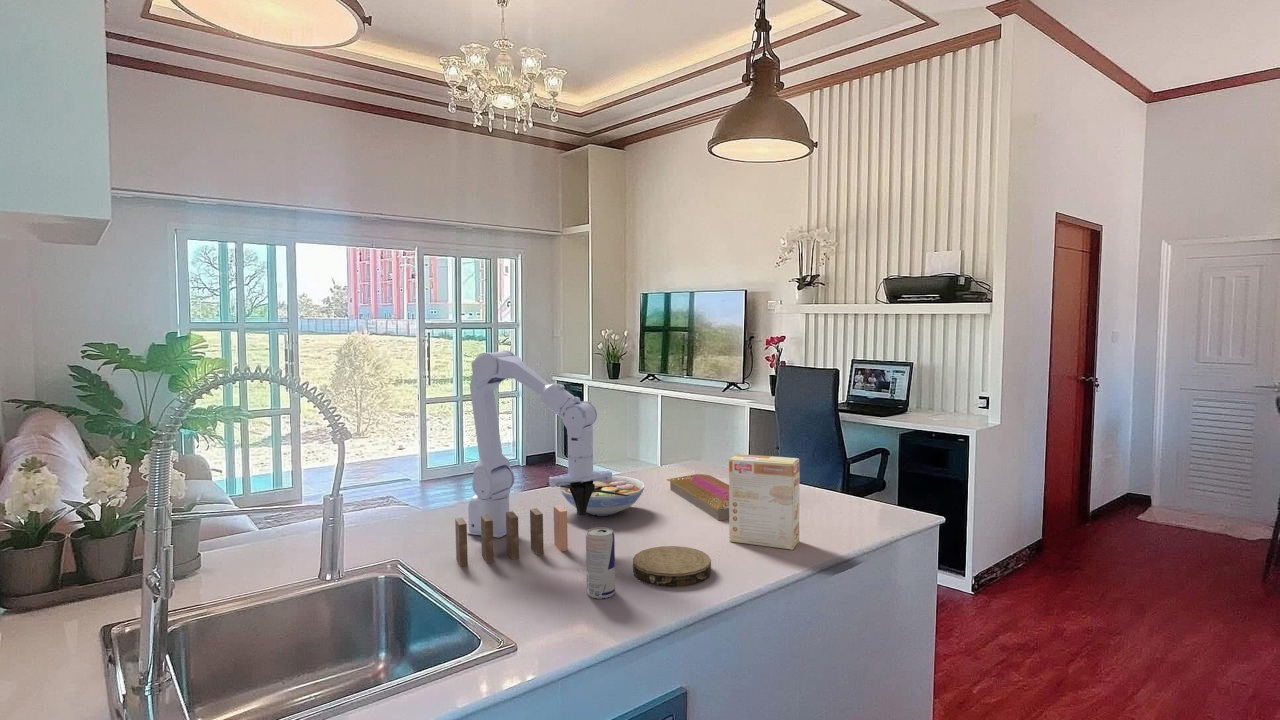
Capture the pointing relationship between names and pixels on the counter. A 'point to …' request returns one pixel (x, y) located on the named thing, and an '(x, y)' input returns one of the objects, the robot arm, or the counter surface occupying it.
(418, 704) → the counter surface
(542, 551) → the domino
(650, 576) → the wooden tree slice
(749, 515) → the coffeecake box
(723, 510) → the brown rectangular box
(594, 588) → the energy drink
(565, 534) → the orange tan rectangular block
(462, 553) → the domino
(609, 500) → the ramen bowl
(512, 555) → the domino
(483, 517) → the domino
